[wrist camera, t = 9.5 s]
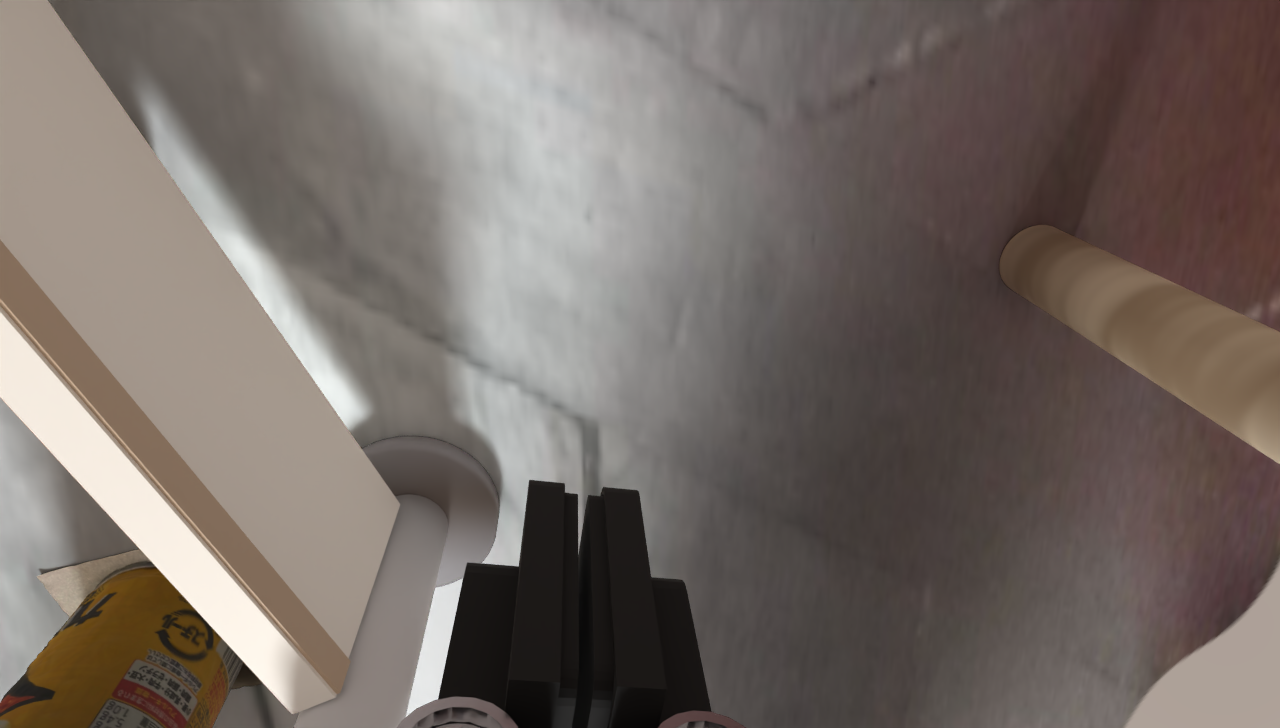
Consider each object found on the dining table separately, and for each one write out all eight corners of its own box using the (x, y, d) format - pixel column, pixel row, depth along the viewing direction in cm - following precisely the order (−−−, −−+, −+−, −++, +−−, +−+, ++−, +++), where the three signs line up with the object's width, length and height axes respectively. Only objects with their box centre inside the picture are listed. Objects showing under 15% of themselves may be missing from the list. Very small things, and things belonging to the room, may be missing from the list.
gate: (461, 538, 28) (402, 835, 18) (397, 564, 28) (304, 871, 18) (-6, -157, 18) (-683, -342, 8) (-96, -108, 19) (-856, -232, 9)
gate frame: (1080, 321, 27) (1413, 529, 17) (378, 595, 30) (271, 930, 19) (981, -283, 20) (1478, -626, 9) (51, 154, 22) (-436, 297, 12)
